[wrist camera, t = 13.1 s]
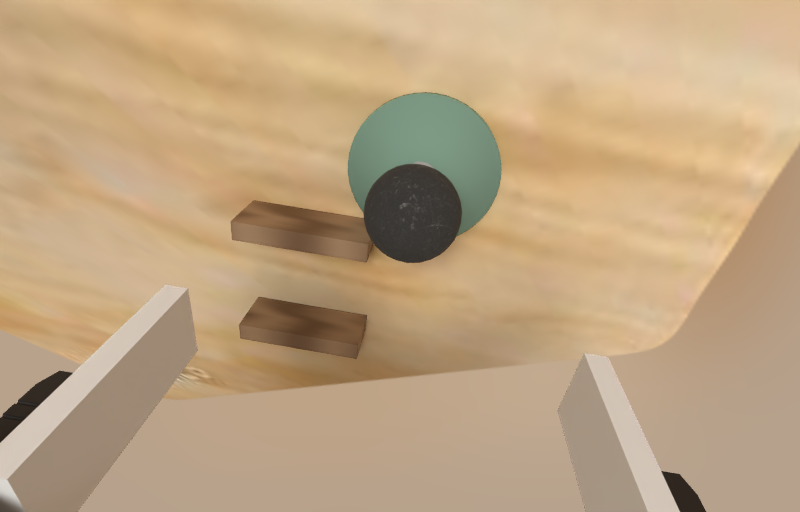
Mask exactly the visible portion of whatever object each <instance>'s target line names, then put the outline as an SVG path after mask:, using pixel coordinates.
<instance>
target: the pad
mask: <svg viewBox="0 0 800 512" xmlns="http://www.w3.org/2000/svg"><path fill="white" fill-rule="evenodd" d="M414 162H426V163H428V164H430V165H431V166H432V167H433V168H434V169H436V170H438V171H440V172H441V173H442V174H443V175H445V176H446V177H447V178H448V179H449V180H450V181H451V182H452V184H453V186H454V187H455V189H456V191H457V193H458V195H459V198H460V201H461V207H462V218H461V225H460V228H459V231H458V234H457V236H458V235H460V234H462V233H463V232H465V231H467V230H468V229H470V228H471V227H473V226H474V225H475V224H476V223H477V222H478V221H479V220H481V218H482V217H483V216H484V215H485V214H486V213H487V211H488V210H489V208H490V207H491V205H492V203H493V201H494V199H495V197H496V194H497V191H498V188H499V184H500V179H501V159H500V154H499V150H498V146H497V143H496V141H495V138H494V136H493V134H492V132H491V130H490V128H489V127H488V125H487V124H486V123H485V121H484V120H483V119H482V118H481V117H480V116H479V115H478V114H477V113H476V112H475V111H474V110H473V109H471V108H470V107H469V106H467V105H466V104H464V103H462V102H460V101H459V100H457V99H454V98H452V97H449V96H446V95H441V94H437V93H426V92H425V93H413V94H408V95H403V96H400V97H398V98H395V99H393V100H391V101H389V102H387V103H385V104H383V105H382V106H381V107H379V108H378V109H376V110H375V111H374V112H373V113H372V114H371V115H370V116H369V117H368V118H367V119H366V121H365V122H364V123H363V124H362V126H361V127H360V129H359V130H358V132H357V134H356V136H355V138H354V140H353V143H352V146H351V149H350V153H349V160H348V175H349V182H350V186H351V190H352V193H353V195H354V197H355V200H356V202H357V203H358V205H359V207H360V208H361V210H362V211H363V212H364V205H365V200H366V197H367V194H368V193H369V191H370V188H371V187H372V185H373V184H374V183H375V182H376V180H377V179H378V178H379V177H380V176H381V175H383V174H384V173H385V172H387V171H388V170H390V169H392V168H394V167H396V166H400V165H404V164H412V163H414Z"/></svg>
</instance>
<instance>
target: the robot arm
mask: <svg viewBox="0 0 800 512" xmlns="http://www.w3.org/2000/svg"><path fill="white" fill-rule="evenodd" d="M197 351H198V350H197V344H196V337H195V331H194V324H193V318H192V311H191V305H190V298H189V292H188V288H182V287H176V286H169V285H165V286H164V287H163V288H162V289H160V290H159V291H158V292H157V293H156V294H155V295H154V296H153V297H152V298H151V299H150V300H149V301H148V302H147V303H146V304H145V305H144V306H143V307H142V308H141V309H140V310H139V311H137V312H136V313H135V314H134V315H133V316H132V317H131V318H130V319H129V320H128V321H127V322H126V323H125V324H124V325H123V326H122V327H121V328H120V329H119V330H118V331H117V332H116V333H114V334H113V335H112V336H111V337H110V338H109V339H108V340H107V341H106V342H105V343H104V344H103V345H102V346H101V347H100V348H99V349H98V350H97V351H96V352H95V353H94V354H93V355H92V356H90V357H89V358H88V359H87V360H86V361H85V362H84V363H83V364H82V365H81V366H80V367H79V368H78V369H77V370H76V371H75V372H74V373H70V372H64V371H58V372H57V373H55V374H53V375H51V376H50V377H48V378H46V379H44V380H42V381H41V382H39V383H37V384H36V385H35V386H34V387H32V388H31V389H30V390H29V391H28V392H27V393H26V394H25V395H24V396H23V397H21V398H20V399H19V400H18V403H17V404H14V405H12V406H11V407H10V408H9V409H8V410H7V411H6V412H5V413H3V416H2V417H1V418H0V512H78V510H79V509H80V508H81V506H82V505H83V504H84V502H85V501H86V500H87V498H88V497H89V496H90V494H91V493H92V492H93V490H94V489H95V488H96V486H97V485H98V484H99V482H100V481H101V480H102V478H103V477H104V475H105V474H106V473H107V471H108V470H109V469H110V467H111V466H112V465H113V463H114V462H115V461H116V459H117V458H118V457H119V455H120V454H121V453H122V451H123V450H124V449H125V447H126V446H127V445H128V443H129V442H130V440H131V439H132V438H133V437H134V435H135V434H136V433H137V431H138V430H139V428H140V427H141V425H142V424H143V423H144V422H145V420H146V419H147V418H148V416H149V415H150V414H151V412H152V411H153V410H154V408H155V407H156V406H157V404H158V403H159V402H160V400H161V399H162V398H163V396H164V395H165V394H166V392H167V391H168V390H169V388H170V387H171V386H172V384H173V383H174V382H175V380H176V379H177V378H178V376H179V375H180V373H181V372H182V371H183V369H184V368H185V367H186V365H187V364H188V363H189V361H190V360H191V359H192V357H193V356H194V355H195V353H196V352H197ZM558 414H559V417H560V421H561V424H562V428H563V432H564V436H565V439H566V442H567V446H568V450H569V454H570V457H571V460H572V464H573V468H574V472H575V475H576V479H577V483H578V486H579V490H580V493H581V497H582V500H583V504H584V508H585V511H586V512H706V511H705V509H704V507H703V505H702V503H701V501H700V499H699V497H698V495H697V494H696V493H695V492H694V490H693V489H692V488H691V487H690V486H689V485H688V484H687V482H686V481H685V480H684V479H683V478H682V477H681V475H680V474H675V473H669V472H663V471H661V470H660V468H659V466H658V464H657V462H656V459H655V457H654V455H653V453H652V451H651V449H650V447H649V444H648V442H647V440H646V438H645V436H644V434H643V431H642V430H641V427H640V425H639V423H638V421H637V419H636V416H635V414H634V412H633V410H632V408H631V406H630V404H629V401H628V399H627V397H626V395H625V393H624V391H623V389H622V386H621V384H620V382H619V380H618V378H617V376H616V374H615V371H614V370H613V367H612V365H611V363H610V361H609V358H608V357H605V356H599V355H592V354H586V353H584V355H583V357H582V359H581V361H580V363H579V366H578V368H577V370H576V372H575V374H574V376H573V378H572V381H571V383H570V385H569V387H568V389H567V391H566V393H565V396H564V398H563V400H562V402H561V404H560V406H559V408H558Z"/></svg>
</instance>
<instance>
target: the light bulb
mask: <svg viewBox="0 0 800 512" xmlns="http://www.w3.org/2000/svg"><path fill="white" fill-rule="evenodd" d="M461 218H462V207H461V201H460V198H459V195H458V193H457V191H456V189H455V187H454V186H453V184H452V182H451V181H450V180H449V179H448V178H447V177H446V176H445V175H443V174H442V173H441V172H440V171H438V170H436V169H434V168H433V167H432V166H431V165H430V164H428V163H426V162H414V163H412V164H404V165H400V166H396V167H394V168H392V169H390V170H388V171H387V172H385V173H384V174H383V175H381V176H380V177H379V178H378V179H377V180H376V182H375V183H374V184H373V185H372V187H371V188H370V191H369V193H368V194H367V197H366V200H365V205H364V222H365V227H366V230H367V233H368V235H369V237H370V239H371V240H372V242H373V243H374V244H375V246H376V247H377V248H378V249H379V250H380V251H381V252H383V253H384V254H386V255H387V256H389V257H391V258H393V259H395V260H398V261H402V262H406V263H420V262H424V261H427V260H431V259H433V258H434V257H437V256H438V255H440V254H441V253H442V252H444V251H445V250H446V249H447V248H448V247H449V246H450V245H451V243H452V242H453V241H454V239H455V238H456V236H457V234H458V231H459V228H460V225H461Z"/></svg>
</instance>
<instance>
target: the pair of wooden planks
mask: <svg viewBox="0 0 800 512" xmlns="http://www.w3.org/2000/svg"><path fill="white" fill-rule="evenodd" d="M231 232H232V240H236V241H242V242H248V243H254V244H260V245H266V246H272V247H278V248H284V249H290V250H296V251H302V252H308V253H314V254H320V255H326V256H332V257H338V258H344V259H350V260H355V261H361V262H367V259H368V257H369V254H370V251H371V248H372V245H373V242H372V240H371V239H370V237H369V235H368V233H367V230H366V227H365V222H364V218H358V217H352V216H345V215H339V214H333V213H327V212H321V211H315V210H309V209H303V208H297V207H291V206H285V205H278V204H272V203H266V202H260V201H252V202H251V203H250V204H249V205H248V206H247V207H246V208H245V209H244V210H243V211H241V212H240V213H239V214H238V215H237V216H236V217H235V218H234V219H233V220H232V221H231ZM366 318H367V315H361V314H355V313H349V312H343V311H338V310H332V309H326V308H320V307H314V306H308V305H303V304H297V303H291V302H285V301H279V300H274V299H268V298H262V297H258V298H257V300H256V301H255V303H254V304H253V306H252V307H251V308H250V310H249V311H248V313H247V314H246V316H245V317H244V318H243V320H242V321H241V323H240V324H239V329H240V338H241V339H247V340H252V341H258V342H264V343H269V344H275V345H281V346H286V347H292V348H298V349H303V350H309V351H315V352H321V353H326V354H332V355H338V356H343V357H349V358H355V359H357V356H358V353H359V349H360V346H361V342H362V339H363V335H364V332H365V327H366Z"/></svg>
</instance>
